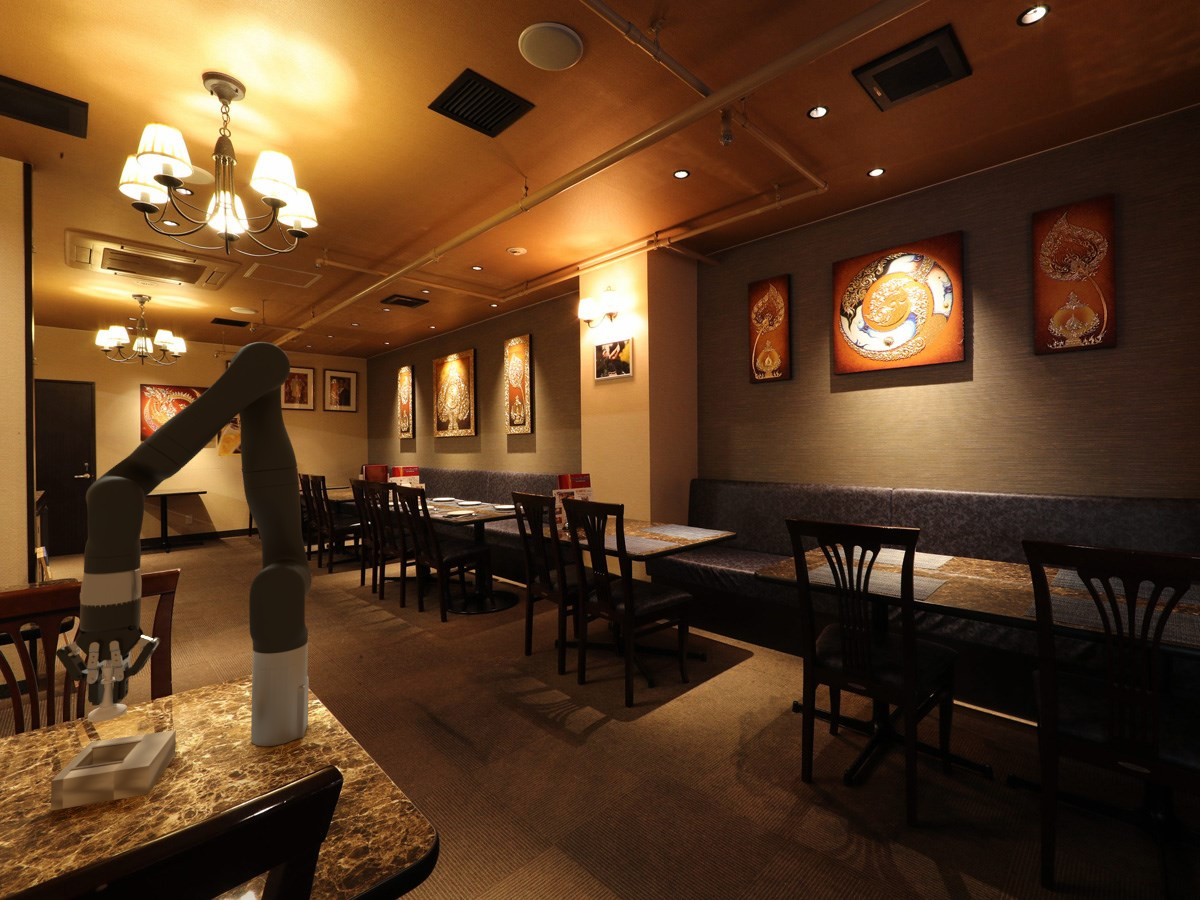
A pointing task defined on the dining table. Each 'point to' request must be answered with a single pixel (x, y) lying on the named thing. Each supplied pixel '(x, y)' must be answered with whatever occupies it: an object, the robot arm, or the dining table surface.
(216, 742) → the dining table surface
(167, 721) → the dining table surface
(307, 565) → the robot arm
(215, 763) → the dining table surface
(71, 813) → the dining table surface
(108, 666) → the chess piece
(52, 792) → the socket block
